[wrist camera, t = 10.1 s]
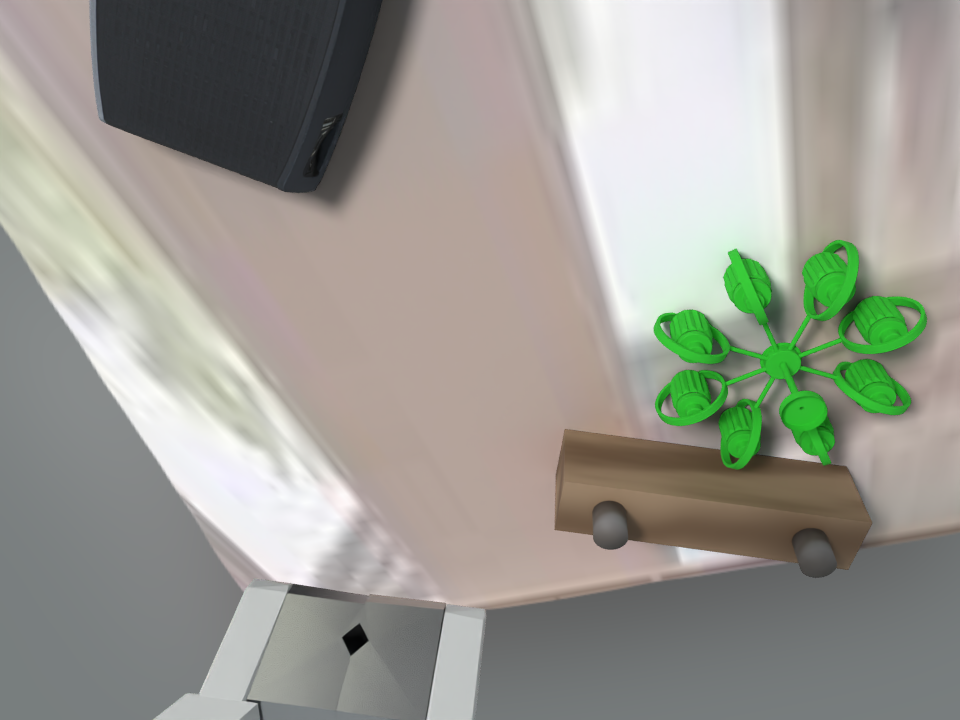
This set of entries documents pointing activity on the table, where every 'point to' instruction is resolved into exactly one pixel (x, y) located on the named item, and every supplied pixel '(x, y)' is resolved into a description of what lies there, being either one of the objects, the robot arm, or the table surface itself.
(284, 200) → the table surface
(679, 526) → the walnut block
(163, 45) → the external hard drive
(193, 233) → the table surface
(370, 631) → the robot arm
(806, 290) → the chandelier
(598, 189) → the table surface
